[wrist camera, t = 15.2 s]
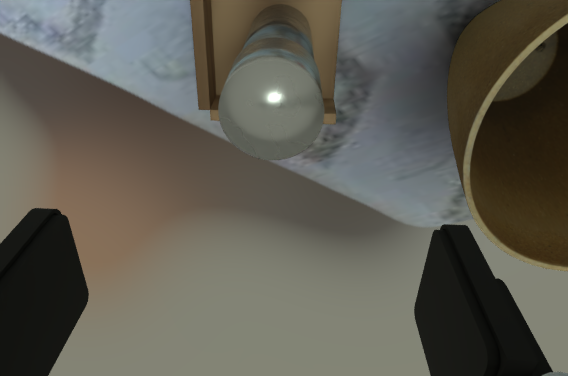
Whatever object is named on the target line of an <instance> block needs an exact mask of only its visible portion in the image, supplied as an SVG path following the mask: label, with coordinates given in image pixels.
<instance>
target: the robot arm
mask: <svg viewBox="0 0 568 376" xmlns="http://www.w3.org/2000/svg"><path fill="white" fill-rule="evenodd" d="M88 295H89V293H88V288H87V285H86V281H85V277H84V274H83V271H82V267H81V263H80V260H79V256H78V252H77V249H76V245H75V242H74V238H73V235H72V231H71V228H70V224H69V221H68V218H67V217H66V216H65V215H62V214H61V212H60V211H59V210H57V209H41V208H35V209H32V210H31V211H30V212H28V214H27V215H26V216H25V217H24V218H23V219H22V220H21V221H20V223H19V224H18V225H17V226H16V227H15V228H14V229H13V230H12V231H11V233H10V234H9V235H8V236H7V237H6V238H5V239H4V240H3V241H2V243H1V244H0V376H48V375H49V373H50V371H51V369H52V367H53V366H54V364H55V362H56V360H57V358H58V356H59V354H60V353H61V351H62V349H63V347H64V345H65V344H66V342H67V340H68V338H69V336H70V334H71V332H72V330H73V329H74V327H75V325H76V323H77V321H78V319H79V318H80V316H81V314H82V312H83V310H84V309H85V307H86V305H87V302H88ZM414 313H415V320H416V324H417V327H418V331H419V335H420V338H421V342H422V345H423V349H424V353H425V356H426V360H427V364H428V367H429V371H430V375H431V376H568V374H567V373H563V372H553V371H552V369H551V367H550V366H549V364H548V362H547V360H546V358H545V356H544V354H543V352H542V351H541V349H540V347H539V345H538V343H537V342H536V340H535V338H534V336H533V334H532V332H531V330H530V328H529V327H528V325H527V323H526V321H525V319H524V317H523V316H522V314H521V312H520V310H519V308H518V306H517V305H516V303H515V301H514V299H513V297H512V295H511V293H510V292H509V290H508V288H507V286H506V285H505V283H504V282H503V281H502V280H500V279H495V277H494V275H493V273H492V271H491V269H490V268H489V265H488V264H487V262H486V260H485V258H484V256H483V254H482V252H481V250H480V248H479V246H478V244H477V243H476V241H475V239H474V237H473V235H472V233H471V231H470V230H469V228H468V226H466V225H446V224H444V225H442V227H441V228H440V230H434V232H433V234H432V238H431V242H430V247H429V250H428V254H427V259H426V262H425V266H424V270H423V274H422V278H421V282H420V286H419V290H418V295H417V299H416V302H415V309H414Z"/></svg>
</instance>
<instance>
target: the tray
mask: <svg viewBox="0 0 568 376" xmlns="http://www.w3.org/2000/svg"><path fill="white" fill-rule="evenodd" d="M341 3H342V0H190V5H191V18H192V30H193V43H194V55H195V68H196V80H197V93H198V106H199V110H210V117H211V120H215V121H220V120H219V113H218V105H219V99H220V96H221V92H222V90H223V87H224V85H225V82H226V80H227V77H228V75H229V72H230V70H231V67H232V65H233V63H234V61H235V59H236V57H237V56H238V54H239V53H240V52H241V51H242V49H243V47H244V44H245V41H246V39H247V36H248V33H249V30H250V28H251V25H252V23H253V21H254V19H255V17H256V16H257V15H258V13H260V12H261V11H262V10H263V9H265V8H266V7H269V6H271V5H276V4H285V5H290V6H292V7H294V8H296V9H298V10H299V11H300V12H301V13H302V14H303V15H304V16H305V17H306V19H307V21H308V23H309V25H310V29H311V36H312V45H313V53H314V61H315V62H316V65H317V67H318V70H319V74H320V81H321V88H322V96H323V103H324V120H323V124H335V122H336V110H335V105H334V100H333V96H334V84H335V73H336V61H337V50H338V38H339V26H340V15H341Z"/></svg>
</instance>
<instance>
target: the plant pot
mask: <svg viewBox="0 0 568 376" xmlns="http://www.w3.org/2000/svg"><path fill="white" fill-rule="evenodd" d="M541 43H543V45H542V46H540V47H538V46H539V45H540V44H541ZM447 108H448V121H449V129H450V135H451V141H452V147H453V151H454V155H455V159H456V164H457V168H458V172H459V176H460V180H461V184H462V187H463V190H464V194H465V197H466V200H467V204H468V207H469V209H470V212H471V214H472V216H473V218H474V220H475V222H476V223H477V225H478V226H479V228H480V229H481V231H482V232H483V233H484V234H485V235H486V236H487V238H488V239H489V240H490V241H491V242H492V243H494V244H495V245H496V246H497V247H498V248H500V249H501V250H503V251H504V252H506V253H507V254H509V255H511V256H513V257H515V258H517V259H519V260H521V261H523V262H526V263H529V264H531V265H535V266H539V267H542V268H546V269H552V270H560V271H568V0H501V1H499V2H497V3H495V4H493V5H492V6H490V7H488V8H487V9H485V10H484V11H482V12H481V13H480V14H478V15H477V16H476V17H475V18H474V19H472V20H471V22H470V23H469V24H468V25H467V26H466V27H465V29H464V30H463V31H462V33H461V35H460V36H459V39H458V41H457V43H456V45H455V48H454V51H453V54H452V58H451V63H450V68H449V75H448V84H447Z"/></svg>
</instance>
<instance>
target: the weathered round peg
mask: <svg viewBox="0 0 568 376" xmlns="http://www.w3.org/2000/svg"><path fill="white" fill-rule="evenodd" d="M218 113H219V120H220V123H221V126H222V129H223V131H224V133H225V134H226V136H227V137H228V139H229V140H230V141H231V142H232V143H233V144H234V145H235V146H236V147H237V148H238V149H240V150H241V151H243V152H244V153H246V154H248V155H250V156H252V157H255V158H259V159H264V160H281V159H286V158H290V157H293V156H295V155H297V154H299V153H301V152H302V151H304V150H305V149H307V148H308V147H309V146H310V145H311V144H312V143H313V142H314V140H315V139H316V138H317V136H318V134H319V132H320V130H321V128H322V124H323V120H324V103H323V96H322V88H321V81H320V74H319V70H318V67H317V65H316V62H315V61H314V53H313V45H312V36H311V29H310V25H309V23H308V21H307V19H306V17H305V16H304V15H303V14H302V13H301V12H300V11H299V10H298V9H296V8H294V7H292V6H290V5H285V4H276V5H271V6H269V7H266V8H265V9H263V10H262V11H261V12H260V13H258V15H257V16H256V17H255V19H254V21H253V23H252V25H251V28H250V30H249V33H248V36H247V39H246V41H245V44H244V47H243V49H242V51H241V52H240V53H239V54H238V56H237V57H236V59H235V61H234V63H233V65H232V67H231V70H230V72H229V75H228V77H227V80H226V82H225V85H224V87H223V90H222V92H221V96H220V99H219V105H218Z"/></svg>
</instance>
